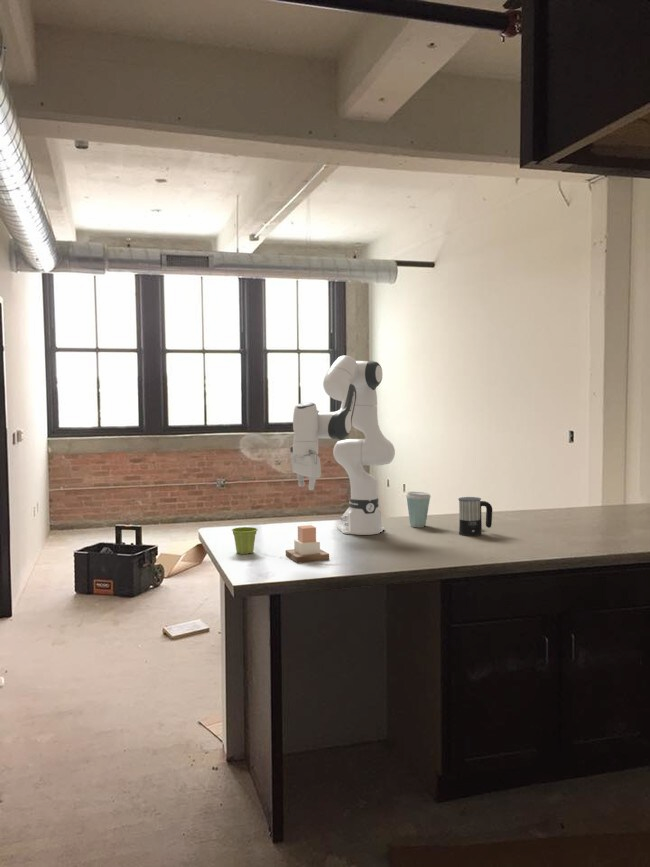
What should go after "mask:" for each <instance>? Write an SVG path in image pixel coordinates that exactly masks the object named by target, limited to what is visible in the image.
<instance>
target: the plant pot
mask: <svg viewBox="0 0 650 867" xmlns="http://www.w3.org/2000/svg"><path fill="white" fill-rule="evenodd" d="M231 531H232V535H233V538H234V544H235V551H236V553H237V554H240V555H249V554H253V553H254V548H255V541H256V535H257V531H259V530H258V528H257V527H250V526H243V527H241V526H240V527H234V528H232V529H231Z"/></svg>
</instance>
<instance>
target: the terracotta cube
mask: <svg viewBox="0 0 650 867" xmlns="http://www.w3.org/2000/svg"><path fill="white" fill-rule="evenodd" d="M297 540H299V541H300V542H302V543H306V542H316V540H317V527H316V526H314V525H311V524H309V525H308V524H307V525H298V526H297Z"/></svg>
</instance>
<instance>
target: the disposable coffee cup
mask: <svg viewBox="0 0 650 867" xmlns="http://www.w3.org/2000/svg"><path fill="white" fill-rule="evenodd" d="M405 496H406V497H405V498H406V502H407V503H406V504H407V509H408V510H407V511H408V518H409V523H410V526H411V527H412V528H424V526H425V527H426V524H427V519H428V518H427V517H428V514H429V513H428V512H429V507H430V506H429V505H430V501H431V494H430V493H427V492H424V491H407V493H406V495H405Z"/></svg>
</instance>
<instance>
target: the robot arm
mask: <svg viewBox="0 0 650 867" xmlns="http://www.w3.org/2000/svg"><path fill="white" fill-rule="evenodd" d="M382 380H383V369H382V366H381V364H380V363H379V362H378V361H374V360H369V361H368V360H356V359H355V358H353V357H352V356H350V355H347V354H346V355H341V356H338V357H337V358H336V359H335V360H334V362H333V363H332V364H331V365H330V367H329V369H328V370H327V372H326V374H325V376H324V379H323V383H322V385H323V390H324V392H325V393H326V394H327V395H328V396H329V398H331V399H333V400H335V401H338V402H340V403H341V405H340V408H339V409H338V410H336V411H319V410H318V409H317V405H316V403H314V402H301V403H297V404H296V405H295V407H294V408H293V417H292V430H293V433H294V435H293V439H292V440H293V441H292V442H293V444H292V445H291V446H290V447H289V453H290V454H291V456H290V461H291V462H290V463H291V472H292V473H294V474H296V477H297V478H296V479H297V481H298V486H299V487H301V488H304V487H305V485H306V482H305V481H304V480H305V478H304V477H307V478H308V485H307V488H308V490H309V491H314V490H315V484H316V481H317V480H316V479H317V478H318V479H319V478H321V476H322V467H321V466H322V464H321V458H320V456H319V439H325V440H326V439H332V440H338V441H336V443H335V444H334V446H333V450H332V451H333V458H334V460H335V461H336V463H338V464H339V465H340V466H341V467H342V468H343V469H344V470H345V473H346V474H347V476H348V479H349V485H350V498H349V501H348V508H347V509H346V510H345V511H344V512H343V514H342V515H341V516H340V522H341V523H340V524H337V525H336V528H337V529H338V531H341V533H343V534H347V535H359V536H362V535H363V536H364V535H365V536H366V535H368V536H371V535H377V534H381V533H382V532H383V530H384V531H386V530H385V527H384V526H383V521H382V520H383V518H382V511H381V510H380V509H379V507H380V506H379V504H380V502H379V498H378V481H377V478H376V477H375V476H374V475H372V474H370V473H369V472H366V470H365V468H364V466H384V465H388V464H389V465H390V464H391V463H392V461H393V460H394V458H395V455H396V449H395V446H394V444H393V443H392V442H391V441H390V440H389V439H387V437H386V436H385V435H384V434H383V432H382V431H381V429H380V426H379V420H378V419H379V418H378V396H377V387H379V386H380V384H381V382H382ZM352 427H353V428H354V429H356V430H358V431H359V432H361V433H363V435H364V438H347V437H348V436H349V435H350V434H351V431H352ZM346 438H347V439H346ZM380 532H381V533H380Z"/></svg>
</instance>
